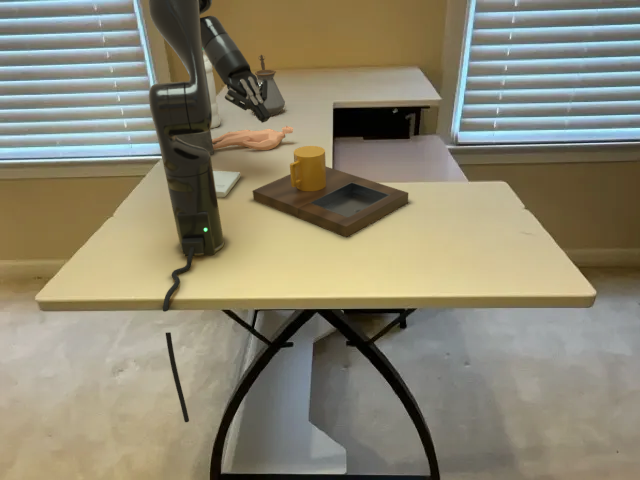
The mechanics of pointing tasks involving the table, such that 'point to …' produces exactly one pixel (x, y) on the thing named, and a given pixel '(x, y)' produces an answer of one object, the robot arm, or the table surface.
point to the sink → (349, 199)
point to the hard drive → (225, 181)
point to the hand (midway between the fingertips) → (266, 120)
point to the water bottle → (211, 91)
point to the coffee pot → (270, 90)
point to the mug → (308, 168)
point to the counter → (299, 206)
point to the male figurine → (252, 138)
